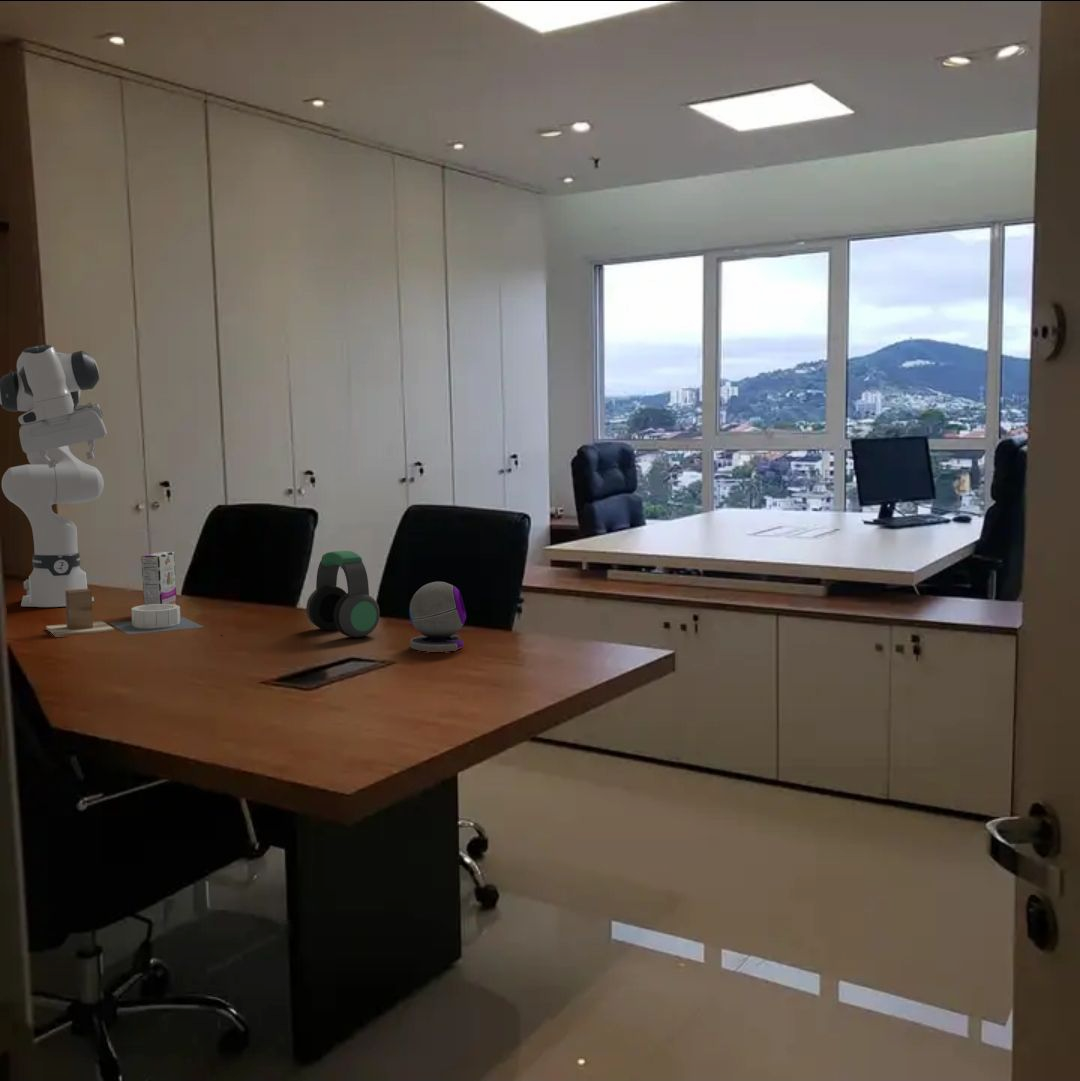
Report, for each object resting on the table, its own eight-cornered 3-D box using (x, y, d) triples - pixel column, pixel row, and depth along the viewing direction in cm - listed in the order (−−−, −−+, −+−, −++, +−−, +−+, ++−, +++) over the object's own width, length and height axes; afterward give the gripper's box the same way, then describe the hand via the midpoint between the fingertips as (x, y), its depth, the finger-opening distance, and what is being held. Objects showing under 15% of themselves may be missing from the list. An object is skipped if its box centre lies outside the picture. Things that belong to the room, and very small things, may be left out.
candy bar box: (159, 613, 285) (156, 551, 284) (177, 612, 285) (175, 551, 284) (142, 619, 274) (140, 555, 273) (162, 618, 274) (159, 555, 273)
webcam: (464, 653, 237) (464, 586, 235) (406, 652, 236) (406, 585, 235) (467, 641, 249) (467, 578, 248) (412, 641, 249) (412, 577, 248)
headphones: (303, 630, 262) (301, 549, 260) (341, 625, 269) (341, 546, 267) (343, 642, 248) (342, 556, 246) (383, 636, 255) (383, 553, 253)
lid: (46, 630, 261) (44, 589, 260) (102, 625, 268) (100, 585, 267) (55, 639, 250) (54, 596, 249) (114, 633, 257) (112, 591, 256)
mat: (109, 624, 268) (109, 623, 268) (181, 617, 278) (181, 616, 278) (128, 636, 253) (128, 634, 253) (204, 628, 263) (204, 626, 263)
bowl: (127, 623, 267) (127, 606, 266) (172, 619, 273) (171, 602, 273) (139, 630, 258) (138, 612, 257) (185, 626, 264) (184, 608, 264)
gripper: (100, 400, 274) (115, 452, 277) (16, 417, 270) (33, 470, 273) (96, 401, 268) (112, 455, 271) (11, 419, 264) (28, 473, 267)
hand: (72, 463), depth 272 cm, fingers open, 8 cm apart
